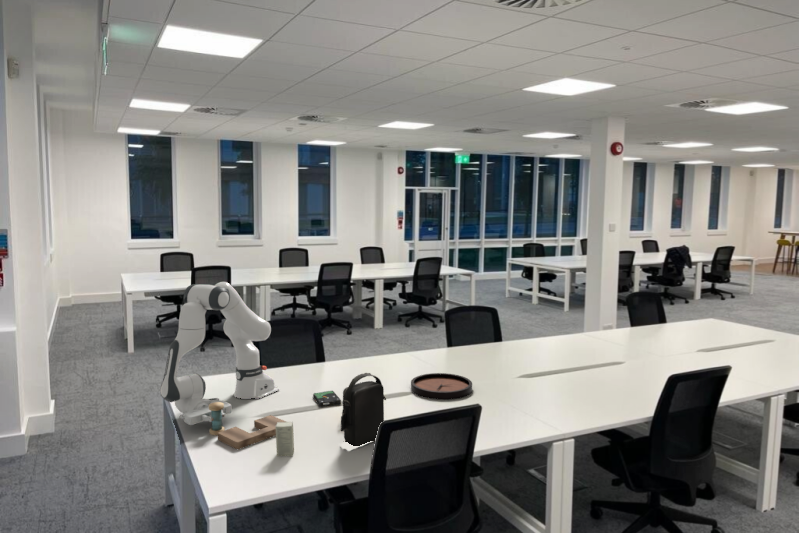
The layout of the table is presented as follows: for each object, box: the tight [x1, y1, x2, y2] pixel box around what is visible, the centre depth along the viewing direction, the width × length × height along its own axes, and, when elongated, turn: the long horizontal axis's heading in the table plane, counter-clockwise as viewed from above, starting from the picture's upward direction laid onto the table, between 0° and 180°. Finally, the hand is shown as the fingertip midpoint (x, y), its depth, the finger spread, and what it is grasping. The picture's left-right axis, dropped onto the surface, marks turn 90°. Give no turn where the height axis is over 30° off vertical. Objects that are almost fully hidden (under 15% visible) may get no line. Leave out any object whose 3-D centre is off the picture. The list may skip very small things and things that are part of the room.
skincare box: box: [275, 421, 295, 457], centre depth 224 cm, size 6×4×12 cm
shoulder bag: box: [340, 372, 387, 446], centre depth 236 cm, size 23×9×28 cm, turn 134°
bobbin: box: [209, 402, 226, 436], centre depth 244 cm, size 6×6×12 cm
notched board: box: [217, 414, 287, 450], centre depth 242 cm, size 26×14×3 cm, turn 139°
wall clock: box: [410, 372, 473, 401], centre depth 301 cm, size 31×4×31 cm
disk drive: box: [312, 390, 342, 408], centre depth 284 cm, size 10×3×15 cm
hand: (217, 417), depth 244 cm, fingers closed on bobbin, 4 cm apart
